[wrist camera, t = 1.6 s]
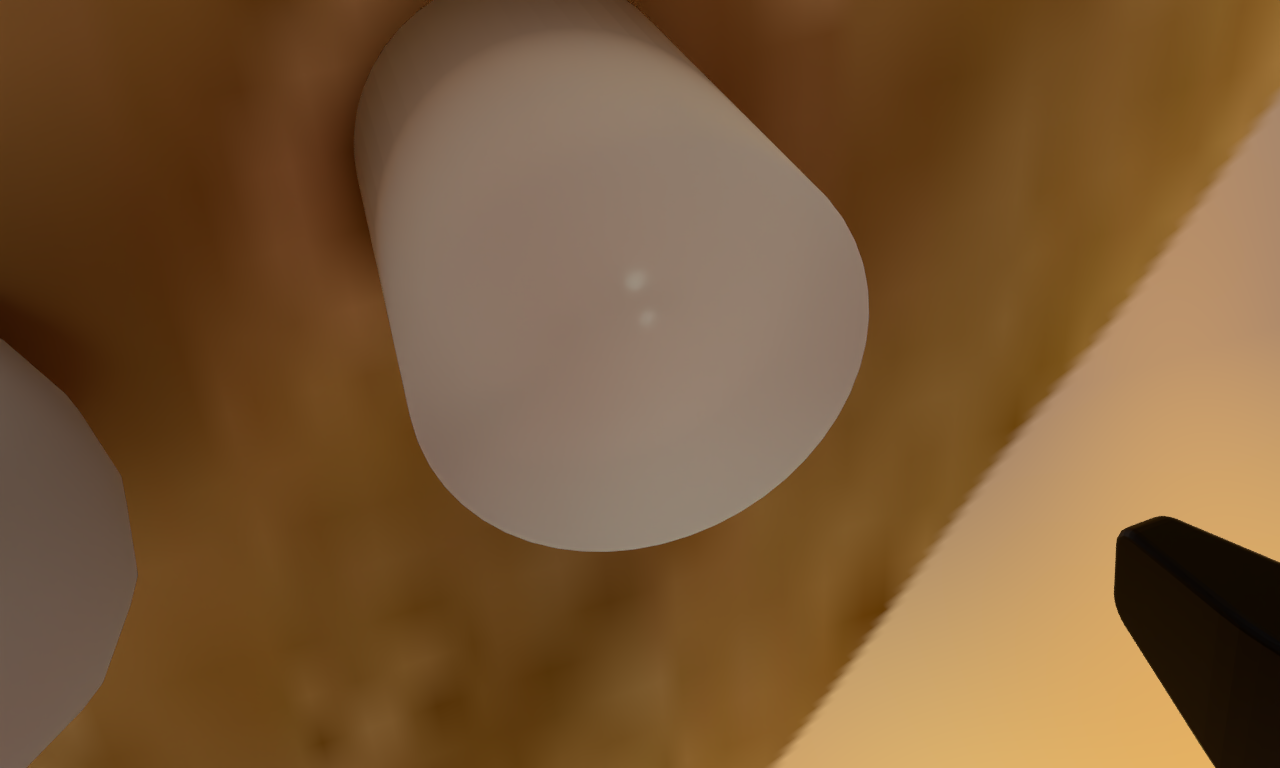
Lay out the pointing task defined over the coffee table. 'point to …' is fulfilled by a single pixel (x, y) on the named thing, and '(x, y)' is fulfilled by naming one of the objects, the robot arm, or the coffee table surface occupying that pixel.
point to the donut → (54, 561)
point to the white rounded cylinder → (597, 274)
